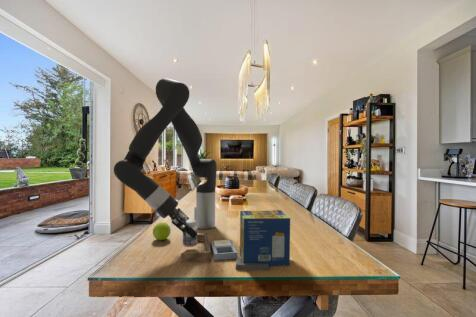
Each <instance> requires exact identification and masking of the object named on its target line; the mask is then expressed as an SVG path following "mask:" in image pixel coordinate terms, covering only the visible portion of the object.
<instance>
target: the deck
mask: <svg viewBox="0 0 476 317" xmlns="http://www.w3.org/2000/svg"><path fill="white" fill-rule="evenodd" d="M210 250H211V254H212V257H213V260H214V261H218V260H219V261H220V260H230V259H231V260H233V259H234V260H235V259H237V258H239V257H238V255H239V254H238V253H239V252H238V250H237V249H236V246H235V244H234V242H233V240H232V239H227V240H226V239H224V240H211V241H210Z"/></svg>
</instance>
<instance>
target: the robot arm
mask: <svg viewBox="0 0 476 317" xmlns="http://www.w3.org/2000/svg"><path fill="white" fill-rule="evenodd" d="M155 85H156V86H155V95H156V98H157V99H158V101H159V104H160V105H161V108H160V110H159V111H158V112H157V113H156V114H155V115H154V116H153V117H152V118H151V119H150V120H148V121H146V122H145V123H144V124H143V125H142V126H141V127H140V128H139V129H138V131H137V132H136V134H135V135H134V137H133V139H132V140H131V142H130V143H129V145H128V152H127V153H126V154H125V157H124V158H123V159H122V160H119V161H117V162H116V163H115V165H114V166H113V173H114V176H115V177H116V179H117V180H119V181H120V182H121V183H122V184H124V185H125V186H127V187H128V188H130V189H131V190H133V191H134V192H135V193H136V195H138V196H139V197H140V198H141V199H143V200H144V201H145V202H146V203H147V205H148V206H149V207H150V208H151V209H152V210H153V211H154V212H155V213H157V215H159V216H160V217H161V218H162V219H166V218H167V217H169V218H170V220H171V224H172V225H173V226H175V227H176V228H177V229H178V230H180V232H182V233H183V232H187V233H188V234H189V235H190V236H191V237H192V238H194V237H195V236H196V235H197V234H198V231H197V232H196V231H195V230H193V229H192V228H191V227H190V225H189V224H188V223H187V220H190V218H189V216H187V214H185V213H184V211H182V209H181V208H177V206H178V205H179V202H178V200H176V198H174V197H173V196H172V195H171V194H170V193H169V192H168V191H166V189H164V188H163V187H161V186H160V185H159V184H158V182H156V181H155V180H154V179H153V178H151V177H150V176H148V175H146V174H145V173H144V172H143V171H142V169H143V166H144V164H145V161H146V159H147V158H148V156H149V154H151V151H152V150H153V148H154V146H155V145H156V143H157V142H158V140H159V139H160V137H161V135H162V134H163V133H164V132H165V130H166V128H168V126H169V125H170V124H172V127H173V129H174V130H175V133H176V134H177V137H178V140H179V141H180V144H181V146H182V147H183V150H184V151H185V154H186V156H187V159H188V161H189V164H190V166H191V169H192V172H193V174H194V176H195V177H196V178H203V179H204V178H205V179H206V181H205V182H204V183H201V184H198V185H197V186H196V189H195V193H196V195H195V199H196V201H195V202H196V203H195V207H194V209H193V210H194V211H193V212H194V213H193V214H194V217H193V218H194V219H193V220H196V225H195V226H196V227H197V229H198V230H199V229H201V230H209V229H213V228H215V227H216V186H217V172H218V171H217V170H218V169H217V168H218V167H217V161H216V160H215V159H213V158H201V157H200V156H199V152H200V149H201V147H202V146H203V145H202V143H203V136H202V134H201V131H200V129H199V126H198V125H197V123H196V122H195V120H194V119H193V118H192V117H191V116H190V115H189V113H188V112H187V111H186V109H185V106H186V105H187V103H188V101H189V98H190V89H189V87H188V85H187V84H185V83H184V82H181V81H178V80H176V79H171V78H166V77H165V78H161V79H159V80H158V81H157V82H156V84H155Z"/></svg>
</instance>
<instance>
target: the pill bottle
mask: <svg viewBox="0 0 476 317" xmlns="http://www.w3.org/2000/svg"><path fill="white" fill-rule="evenodd" d="M187 223H188V224H189V225H190V227H191V228H192V229H193V230H195V231H196V232H197V233H198V228H197V227H196V226H195V225H196V220H194V219H189V220H187ZM182 245H183V247H185V248H193V247H195V246H197V245H198V241H197V235H196V236H195V237H194V238H192V237H191V236H190V235H189V234H188V233H187V232H182Z"/></svg>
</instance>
